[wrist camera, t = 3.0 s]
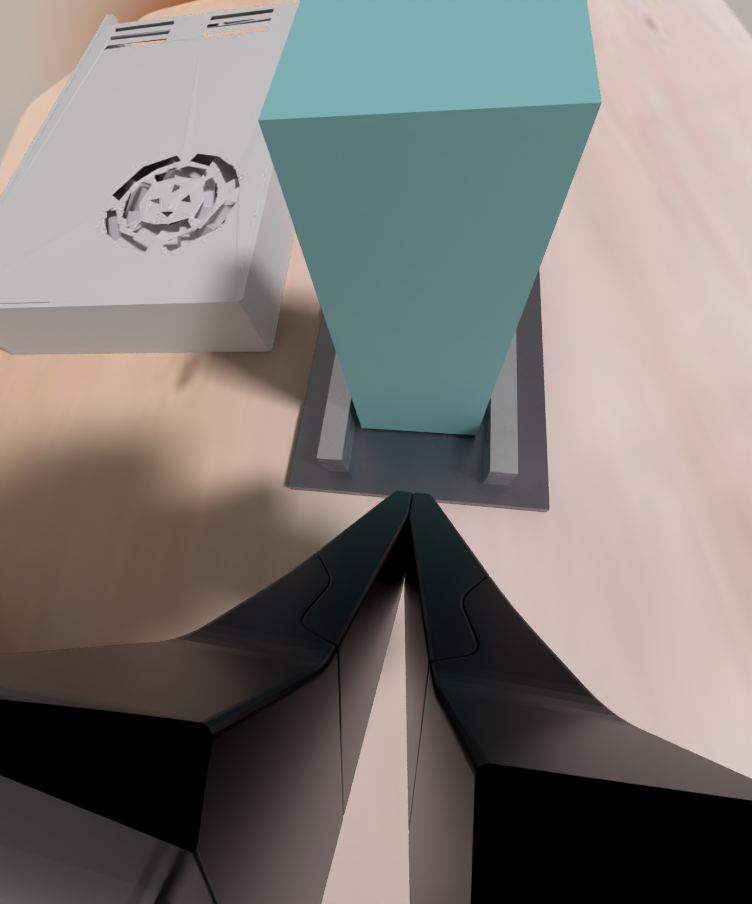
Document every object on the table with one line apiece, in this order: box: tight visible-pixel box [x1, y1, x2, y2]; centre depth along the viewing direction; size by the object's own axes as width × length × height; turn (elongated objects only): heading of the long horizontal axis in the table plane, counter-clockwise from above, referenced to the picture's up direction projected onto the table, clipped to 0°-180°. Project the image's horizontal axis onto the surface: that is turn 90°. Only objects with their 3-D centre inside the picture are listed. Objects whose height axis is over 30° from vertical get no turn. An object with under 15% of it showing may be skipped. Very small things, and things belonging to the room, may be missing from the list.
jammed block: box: [258, 0, 601, 435], centre depth 14 cm, size 5×6×14 cm
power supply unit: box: [0, 1, 300, 355], centre depth 29 cm, size 19×33×5 cm, turn 176°
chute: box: [288, 270, 549, 512], centre depth 21 cm, size 18×13×4 cm
